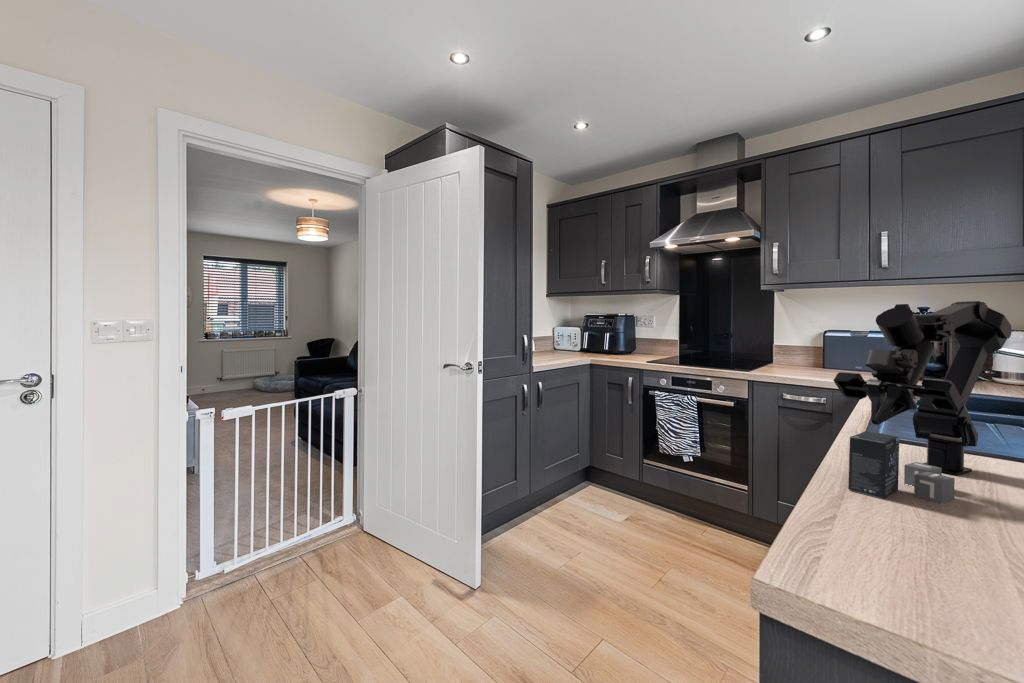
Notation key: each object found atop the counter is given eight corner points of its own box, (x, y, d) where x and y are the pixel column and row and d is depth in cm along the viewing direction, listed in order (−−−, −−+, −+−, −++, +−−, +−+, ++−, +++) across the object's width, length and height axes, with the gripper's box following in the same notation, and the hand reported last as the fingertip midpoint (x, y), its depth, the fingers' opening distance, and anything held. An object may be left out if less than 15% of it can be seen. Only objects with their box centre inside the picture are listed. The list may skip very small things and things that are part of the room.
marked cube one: (915, 481, 89) (916, 461, 88) (941, 488, 85) (941, 466, 85) (903, 484, 87) (903, 463, 87) (929, 491, 83) (929, 469, 83)
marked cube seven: (926, 492, 83) (926, 470, 83) (954, 500, 79) (954, 477, 79) (913, 495, 82) (913, 473, 81) (941, 503, 78) (941, 480, 78)
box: (884, 500, 80) (885, 442, 79) (847, 490, 84) (848, 436, 84) (899, 490, 84) (900, 435, 84) (863, 482, 89) (864, 430, 88)
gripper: (839, 334, 94) (805, 389, 90) (955, 335, 77) (920, 403, 73) (860, 369, 97) (829, 423, 93) (975, 377, 80) (944, 444, 76)
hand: (874, 423), depth 84 cm, fingers closed
